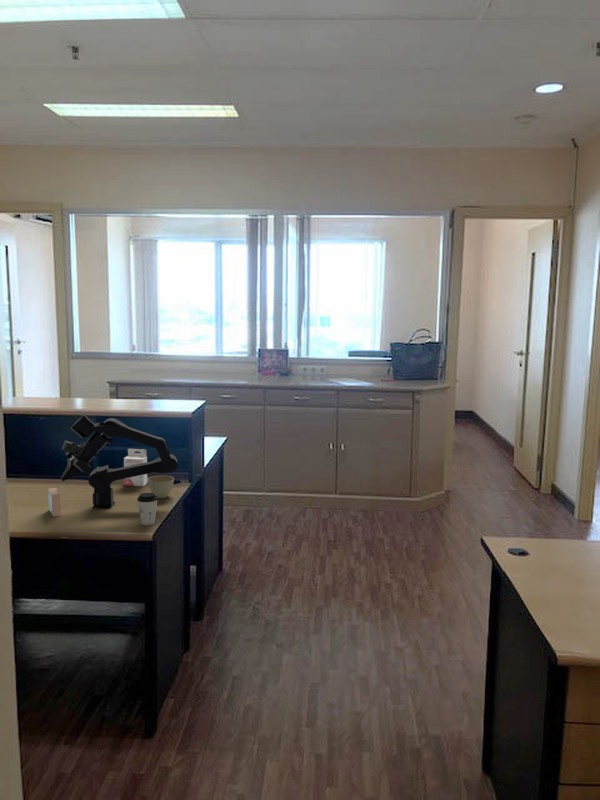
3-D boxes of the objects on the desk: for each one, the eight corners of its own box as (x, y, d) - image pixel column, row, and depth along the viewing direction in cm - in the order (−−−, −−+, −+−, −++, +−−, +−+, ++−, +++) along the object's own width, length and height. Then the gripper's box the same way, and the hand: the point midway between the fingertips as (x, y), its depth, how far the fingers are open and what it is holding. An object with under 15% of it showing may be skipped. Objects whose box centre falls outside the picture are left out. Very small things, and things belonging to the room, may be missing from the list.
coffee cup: (160, 519, 212) (159, 491, 210) (156, 526, 205) (155, 497, 203) (140, 519, 212) (139, 491, 210) (135, 526, 205) (134, 497, 203)
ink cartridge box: (123, 485, 252) (122, 451, 249) (128, 482, 256) (127, 448, 254) (143, 486, 251) (143, 451, 249) (148, 483, 256) (147, 449, 253)
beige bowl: (171, 500, 233) (171, 482, 232) (145, 500, 233) (144, 482, 232) (176, 492, 243) (176, 475, 242) (151, 492, 243) (151, 475, 242)
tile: (56, 509, 221) (55, 487, 220) (60, 515, 215) (59, 493, 213) (48, 510, 220) (47, 488, 219) (52, 516, 213) (51, 494, 212)
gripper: (70, 428, 225) (39, 460, 221) (81, 437, 209) (48, 472, 205) (92, 446, 230) (63, 478, 226) (105, 457, 215) (73, 491, 211)
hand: (61, 480), depth 217 cm, fingers closed
